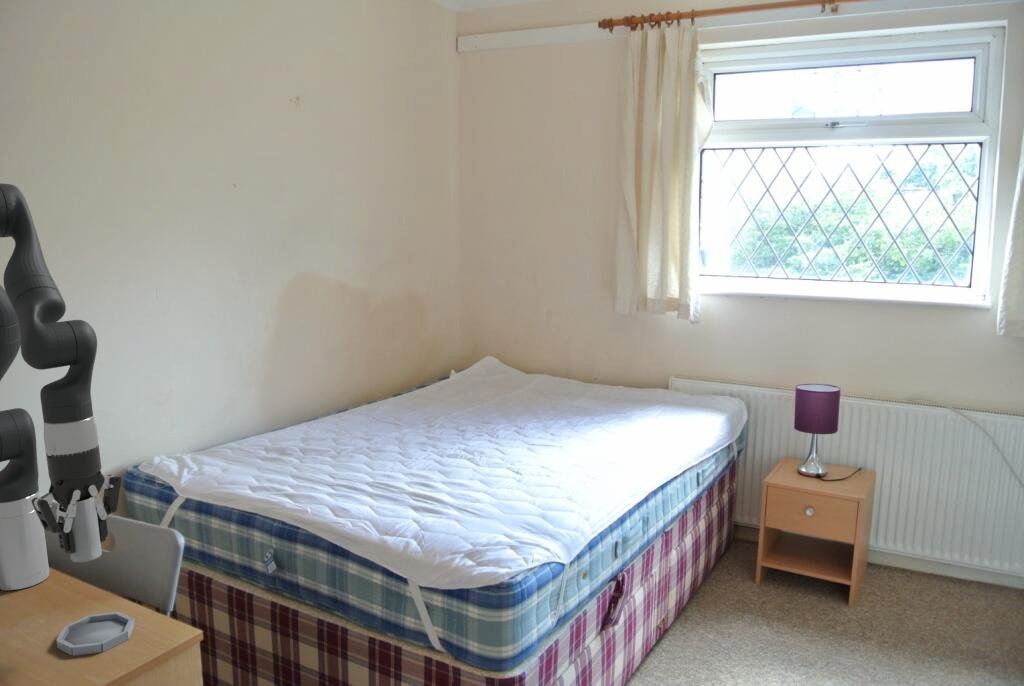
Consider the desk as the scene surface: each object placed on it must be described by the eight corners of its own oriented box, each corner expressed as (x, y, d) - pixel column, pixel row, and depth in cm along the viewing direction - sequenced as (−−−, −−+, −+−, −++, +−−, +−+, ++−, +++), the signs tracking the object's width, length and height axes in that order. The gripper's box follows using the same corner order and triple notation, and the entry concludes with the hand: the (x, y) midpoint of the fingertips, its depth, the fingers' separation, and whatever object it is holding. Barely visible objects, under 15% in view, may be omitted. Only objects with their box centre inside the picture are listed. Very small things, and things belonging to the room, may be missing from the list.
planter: (107, 551, 138) (100, 491, 136) (91, 562, 133) (83, 501, 132) (81, 551, 138) (74, 491, 136) (64, 562, 134) (56, 501, 132)
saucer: (46, 642, 136) (45, 634, 136) (108, 614, 145) (107, 607, 145) (83, 661, 131) (82, 653, 130) (145, 631, 140) (144, 623, 139)
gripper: (101, 431, 140) (112, 527, 143) (13, 454, 129) (28, 558, 132) (127, 437, 136) (138, 535, 139) (39, 461, 125) (53, 568, 127)
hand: (85, 546), depth 135 cm, fingers closed on planter, 4 cm apart
